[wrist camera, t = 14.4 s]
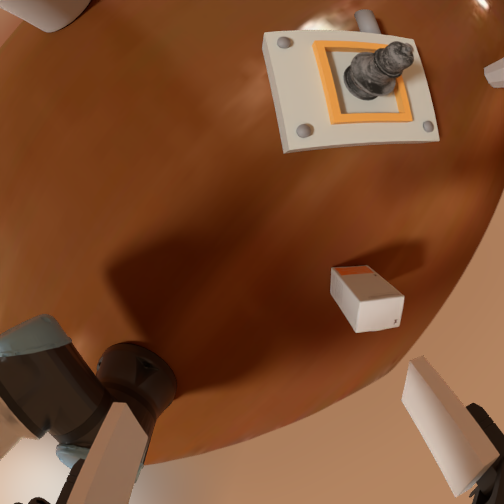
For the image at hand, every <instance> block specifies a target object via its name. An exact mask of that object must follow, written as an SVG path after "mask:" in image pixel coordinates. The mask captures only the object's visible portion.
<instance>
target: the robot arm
mask: <svg viewBox="0 0 504 504" xmlns="http://www.w3.org/2000/svg"><path fill="white" fill-rule="evenodd" d="M176 389H177V382H176V378H175V376H174V373H173V372H172V370H171V369H170V367H169V366H168V365H167V364H166V363H165V362H164V361H163V360H162V359H161V358H160V357H159V356H157V355H156V354H154V353H153V352H151V351H149V350H147V349H145V348H143V347H140V346H137V345H133V344H116V345H113V346H111V347H109V348H108V349H107V350H106V351H105V352H104V353H103V355H102V356H101V358H100V359H99V362H98V365H97V372H96V376H95V374H94V373H93V372H92V370H91V369H90V368H89V366H88V365H87V364H86V362H85V361H84V359H83V358H82V357H81V355H80V354H79V352H78V351H77V350H76V348H75V347H74V345H73V344H72V340H71V338H70V337H68V336H67V335H66V333H65V332H64V331H63V329H62V328H61V326H60V325H59V323H58V322H57V320H56V319H55V318H54V317H52V316H51V315H48V314H41V315H38V316H36V317H33V318H31V319H29V320H27V321H25V322H23V323H21V324H19V325H17V326H15V327H13V328H11V329H9V330H7V331H5V332H4V333H2V334H0V460H1V459H2V458H3V457H4V456H5V455H6V454H7V453H8V452H9V451H10V450H11V449H12V448H13V447H14V446H15V445H16V444H17V443H18V442H19V441H20V440H21V439H22V438H29V439H35V440H39V439H40V438H41V437H42V436H43V435H44V434H45V433H47V432H49V433H50V434H51V435H52V436H53V437H54V438H55V439H56V440H57V441H58V442H59V445H57V447H56V449H57V450H56V455H57V456H58V457H59V459H60V461H61V462H63V463H64V464H65V465H66V466H67V467H69V468H70V469H71V471H70V473H69V474H70V475H68V477H67V482H65V484H64V487H63V488H62V491H61V493H60V496H59V498H58V500H57V502H56V504H128V502H129V499H130V496H131V492H132V489H133V485H134V483H136V481H137V479H138V477H139V474H140V471H141V469H142V468H143V466H144V461H145V457H146V454H147V450H148V447H149V443H150V440H151V436H152V433H153V429H154V426H155V423H156V420H157V418H158V417H159V416H160V415H161V414H162V412H163V411H164V410H165V409H166V408H167V407H168V406H169V405H170V404H171V403H172V401H173V399H174V396H175V393H176ZM402 402H403V404H404V406H405V407H406V409H407V410H408V412H409V414H410V416H411V417H412V419H413V421H414V423H415V424H416V426H417V428H418V429H419V431H420V433H421V435H422V436H423V438H424V440H425V442H426V444H427V445H428V447H429V449H430V451H431V452H432V454H433V456H434V458H435V460H436V462H437V463H438V465H439V467H440V469H441V471H442V473H443V475H444V477H445V479H446V481H447V482H448V484H449V486H450V488H451V490H452V492H453V494H454V496H455V497H457V496H459V495H460V494H462V493H464V492H465V491H467V490H469V489H470V488H471V487H472V486H473V485H474V484H475V483H477V485H478V486H477V487H476V488H475V489H474V490H473V491H472V492H471V494H470V496H469V497H472V496H473V495H474V494H475V496H474V499H473V503H472V504H504V435H503V433H502V432H501V431H500V429H499V428H498V427H497V425H496V424H495V423H493V420H492V419H491V418H490V417H489V415H488V414H487V413H486V411H485V410H484V409H483V408H482V407H480V406H479V405H477V404H475V403H472V404H470V405H468V406H467V407H465V406H464V405H463V404H462V402H461V401H460V400H459V399H458V397H457V396H456V395H455V394H454V392H453V391H452V390H451V389H450V387H449V386H448V385H447V384H446V382H445V381H444V380H443V379H442V377H441V376H440V375H439V374H438V373H437V371H436V370H435V369H434V368H433V367H432V366H431V364H430V363H429V362H428V361H427V360H426V358H425V357H424V356H421V357H418V358H415V359H413V360H410V361H409V367H408V373H407V377H406V382H405V387H404V392H403V395H402ZM14 504H22V503H19V502H18V503H14ZM28 504H50V503H49V502H47V501H46V500H45V499H43V498H40V497H36V498H33V499H31V501H30V502H29V503H28Z"/></svg>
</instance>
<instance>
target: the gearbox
mask: <svg viewBox="0 0 504 504" xmlns="http://www.w3.org/2000/svg"><path fill="white" fill-rule="evenodd" d="M354 16H355V18H356V21H357V23H358V26H359V29H360V32H354V31H336V30H296V31H278V32H266V33H264V38H263V46H262V50H263V54H264V59H265V63H266V67H267V72H268V76H269V81H270V86H271V90H272V95H273V100H274V105H275V110H276V115H277V120H278V125H279V131H280V136H281V141H282V147H283V153H292V152H299V151H307V150H316V149H326V148H336V147H348V146H361V145H378V144H403V143H427V142H436V141H440V140H439V134H438V128H437V123H436V118H435V113H434V108H433V104H432V100H431V95H430V91H429V88H428V84H427V80H426V77H425V73H424V70H423V67H422V63H421V60H420V57H419V54H418V51H417V48H416V46H415V43H414V40H413V39H408V38H402V37H396V36H390V35H383V34H381V32H380V29H379V26H378V24H377V21H376V19H375V16H374V14H373V12H372V11H370V10H359V11H357V12H355V14H354ZM394 41H399V42H402V43H404V44H406V45H407V46H409V47H411V50H412V52H413V55H414V62H413V64H412V65H411V66H409V67H408V68H406V69H404V70H403V73H402V75H401V76H400V77H398V78H396V85H395V87H394V90H393V91H392V92H391V93H390V94H388V95H386V96H378V97H377V98H375V99H373V100H369V101H367V100H361V99H358V98H357V97H355V96H353V95H352V94H351V93H350V92H349V90H348V89H347V88H346V86H345V83H344V79H343V76H344V72H345V69H346V68H347V67H348V66H350V65H351V61H352V59H353V58H354V57H355V56H356V55H357V54H359V53H361V52H371V53H374V52H375V51H376V50H377V49H379V48H385V47H386V46H388V45H389V44H390V43H392V42H394Z"/></svg>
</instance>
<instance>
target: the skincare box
mask: <svg viewBox="0 0 504 504" xmlns="http://www.w3.org/2000/svg"><path fill="white" fill-rule="evenodd" d="M330 294H331V295H332V297H333V298H334V300H335V301H336V303H337V304H338V306H339V307H340V309H341V310H342V312H343V314H344V315H345V317H346V318H347V320H348V321H349V323H350V324H351V326H352V328H353V329H354V331H355V332H356V333H360V332H368V331H379V330H383V329H388V328H394V327H399V326H400V321H401V315H402V310H403V304H404V297H405V296H404V295H403V294H401V293H400V292H399V291H398V290H397V289H396V288H394V287H393V286H392V285H391V284H390V283H388V282H387V281H386V280H385V279H384V278H383V277H381V276H380V275H379V274H378V273H376V272H375V271H374V270H373V269H372V268H370V267H369V266H368V265H364V266H351V267H332V268H331V285H330Z"/></svg>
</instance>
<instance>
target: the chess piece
mask: <svg viewBox="0 0 504 504" xmlns="http://www.w3.org/2000/svg"><path fill="white" fill-rule="evenodd" d="M413 62H414V55H413V52H412V50H411V47H409V46H407V45H406V44H404V43H402V42H399V41H394V42H392V43H390V44H389V45H388V46H386V47H385V48H379V49H377V50H376V51H375V52H374V53H371V52H361V53H359V54H357V55H356V56H355V57H354V58H353V59H352V61H351V65H350V66H348V67H347V68H346V69H345V72H344V76H343V79H344V83H345V86H346V88H347V89H348V90H349V92H350V93H351V94H352V95H353V96H355V97H357V98H358V99H361V100H367V101H369V100H373V99H375V98H377V97H378V96H386V95H388V94H390V93H391V92H392V91H393V90H394V87H395V85H396V78H398V77H400V76H401V75H402V73H403V70H404V69H406V68H408V67H409V66H411V65H412V64H413Z"/></svg>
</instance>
